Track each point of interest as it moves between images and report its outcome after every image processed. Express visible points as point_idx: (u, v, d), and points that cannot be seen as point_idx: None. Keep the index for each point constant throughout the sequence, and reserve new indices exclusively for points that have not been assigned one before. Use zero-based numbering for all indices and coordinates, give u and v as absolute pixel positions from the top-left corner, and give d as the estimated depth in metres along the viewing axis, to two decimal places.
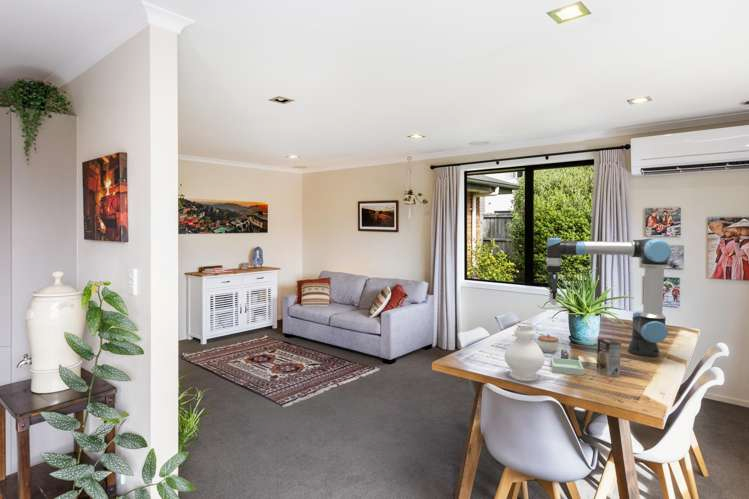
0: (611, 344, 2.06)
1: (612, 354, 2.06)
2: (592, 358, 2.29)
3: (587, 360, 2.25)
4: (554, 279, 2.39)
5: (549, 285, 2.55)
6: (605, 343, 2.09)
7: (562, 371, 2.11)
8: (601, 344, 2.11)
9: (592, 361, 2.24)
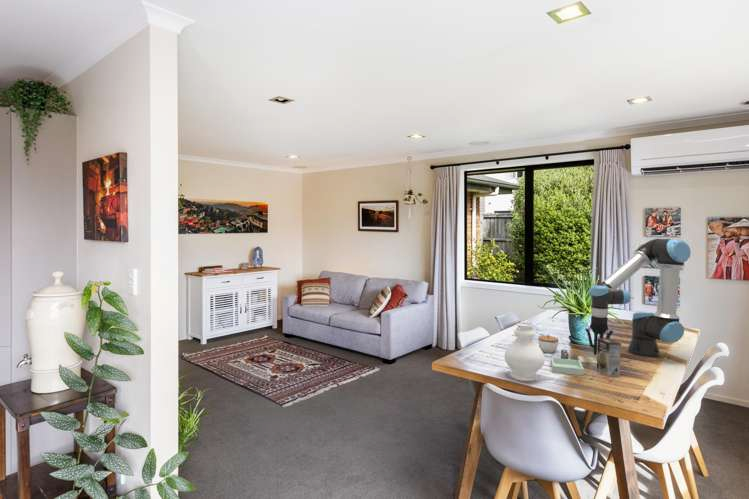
0: (611, 344, 2.06)
1: (612, 354, 2.06)
2: (592, 358, 2.29)
3: (587, 360, 2.25)
4: (587, 333, 2.26)
5: None
6: (605, 343, 2.08)
7: (562, 371, 2.11)
8: (601, 344, 2.11)
9: (592, 361, 2.24)
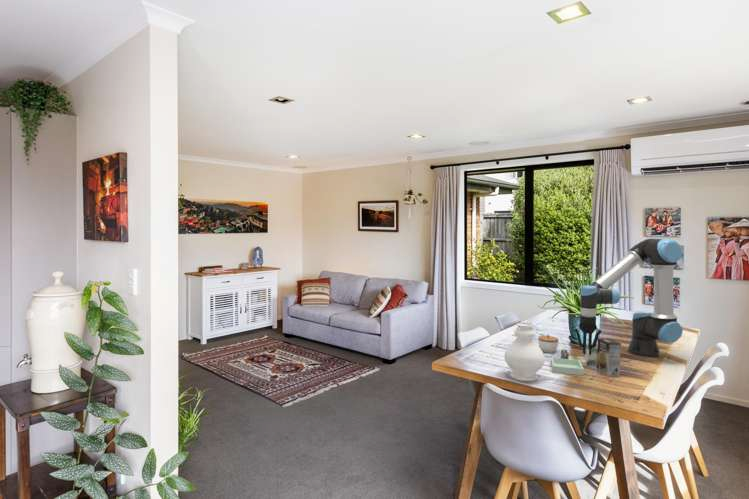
0: (611, 344, 2.06)
1: (612, 354, 2.06)
2: (581, 357, 2.30)
3: None
4: (576, 332, 2.28)
5: None
6: (605, 343, 2.08)
7: (562, 371, 2.11)
8: (602, 344, 2.11)
9: (581, 360, 2.25)
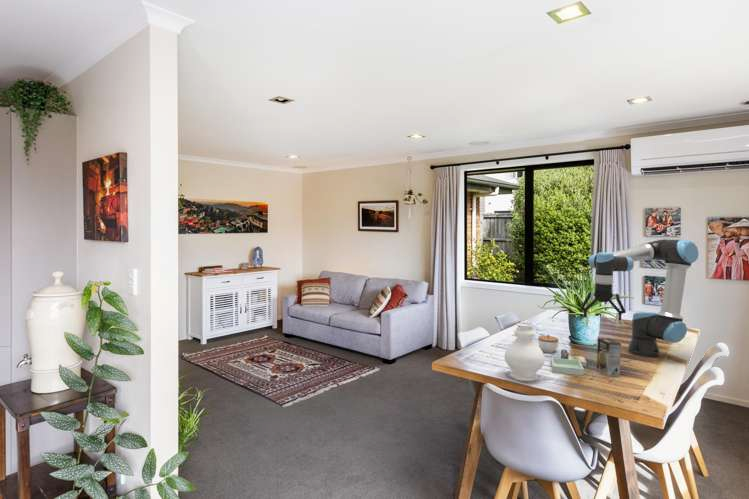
0: (611, 344, 2.06)
1: (612, 354, 2.06)
2: (581, 357, 2.30)
3: None
4: (587, 296, 2.21)
5: None
6: (605, 343, 2.08)
7: (562, 371, 2.11)
8: (601, 344, 2.11)
9: (581, 360, 2.25)
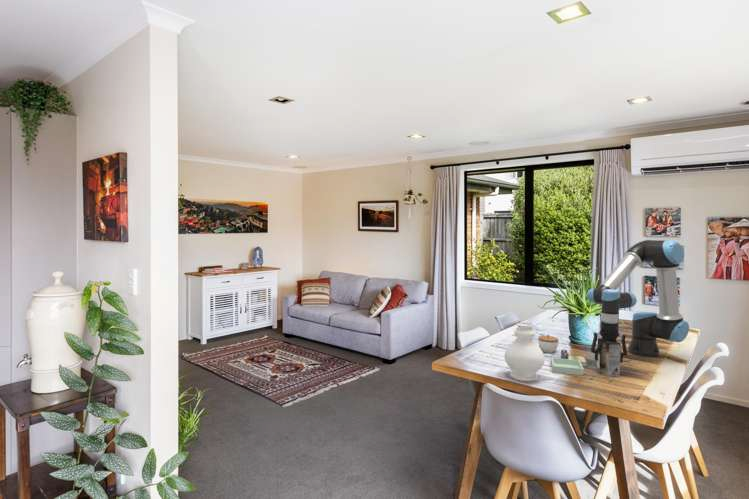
0: (611, 344, 2.06)
1: (612, 354, 2.06)
2: (581, 357, 2.30)
3: None
4: (594, 337, 2.13)
5: None
6: (605, 343, 2.08)
7: (562, 371, 2.11)
8: None
9: (581, 360, 2.25)
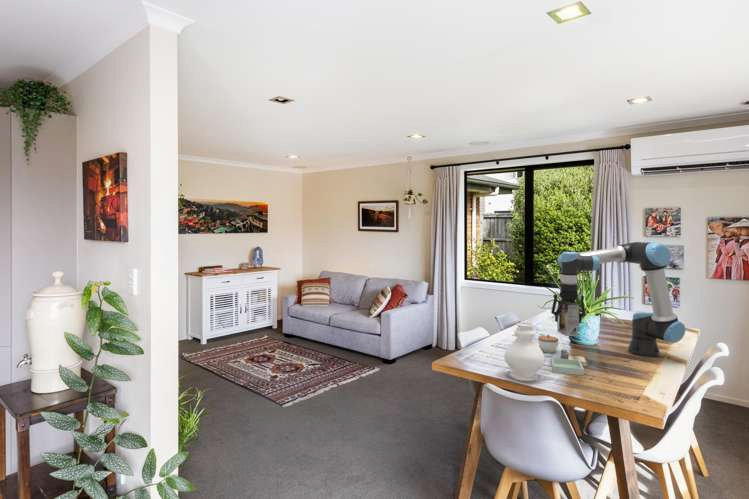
0: (569, 304, 2.11)
1: (571, 314, 2.11)
2: (581, 357, 2.30)
3: None
4: (554, 299, 2.17)
5: None
6: (564, 304, 2.13)
7: (562, 371, 2.11)
8: None
9: (581, 360, 2.25)
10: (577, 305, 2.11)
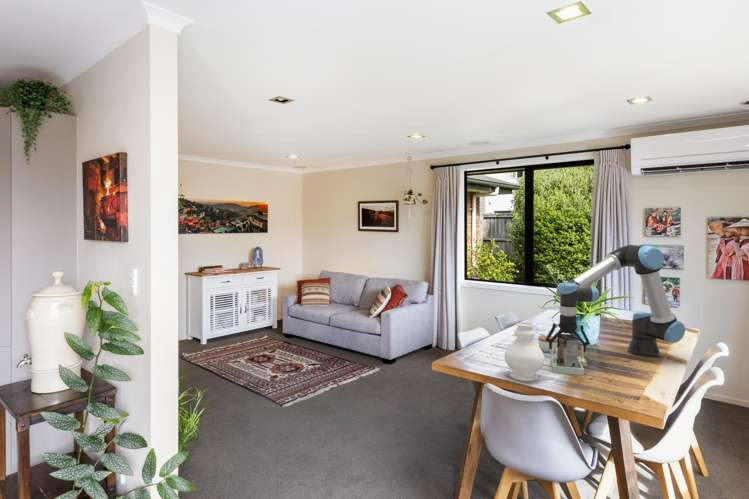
0: (568, 339, 2.12)
1: (569, 349, 2.12)
2: None
3: None
4: (552, 327, 2.18)
5: None
6: (563, 338, 2.14)
7: (562, 371, 2.11)
8: (560, 339, 2.17)
9: (581, 360, 2.25)
10: (576, 340, 2.12)
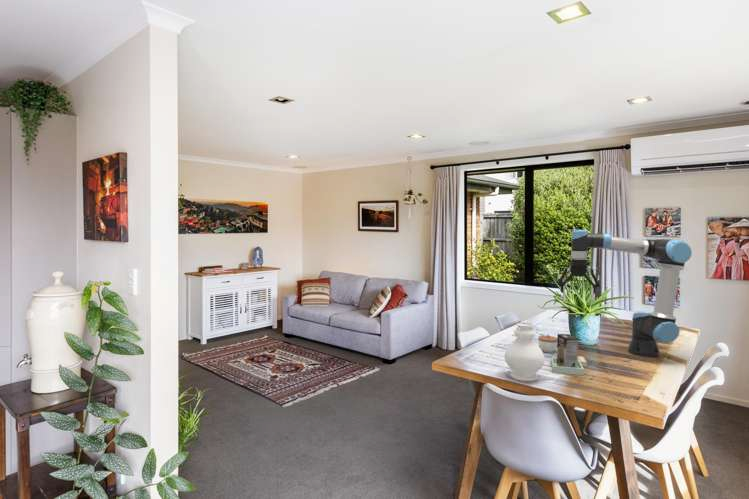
0: (568, 339, 2.12)
1: (569, 349, 2.12)
2: (581, 357, 2.30)
3: None
4: (563, 272, 2.32)
5: None
6: (563, 338, 2.14)
7: (562, 371, 2.11)
8: (560, 339, 2.17)
9: (581, 360, 2.25)
10: (576, 340, 2.12)
